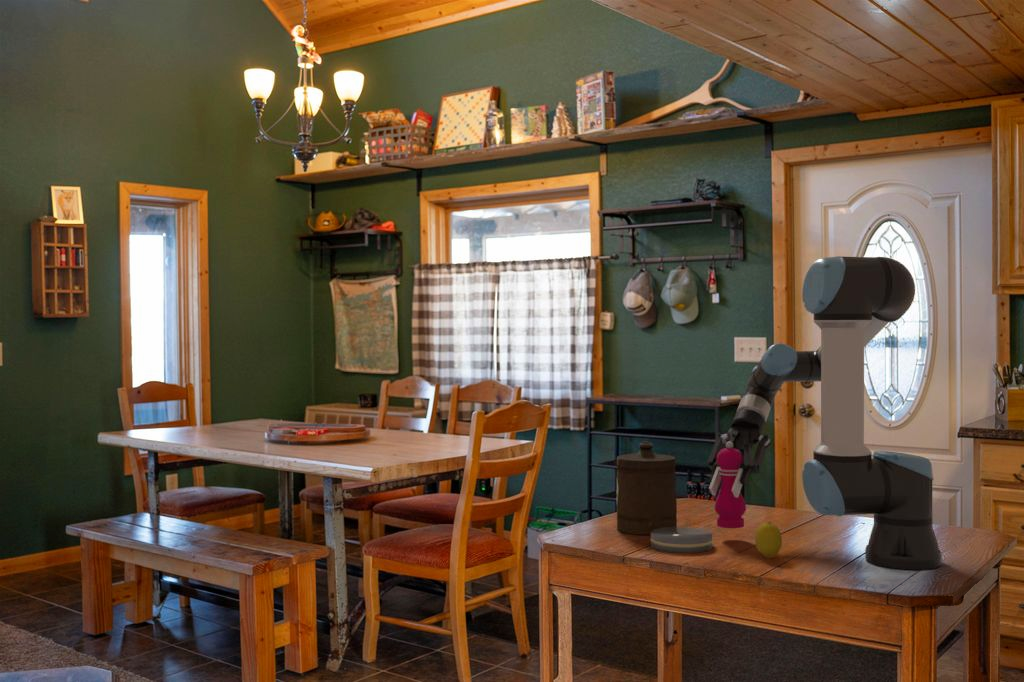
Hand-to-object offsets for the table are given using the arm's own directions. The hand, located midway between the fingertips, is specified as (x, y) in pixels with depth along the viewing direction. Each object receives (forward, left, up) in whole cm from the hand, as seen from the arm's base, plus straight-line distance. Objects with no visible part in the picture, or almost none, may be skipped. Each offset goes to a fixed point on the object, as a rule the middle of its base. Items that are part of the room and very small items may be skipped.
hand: (723, 492), depth 229 cm
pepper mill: (+2, -3, -9) cm, 9 cm away
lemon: (-17, 0, -12) cm, 21 cm away
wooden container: (+21, +9, -12) cm, 25 cm away
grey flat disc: (+1, +11, -12) cm, 16 cm away
